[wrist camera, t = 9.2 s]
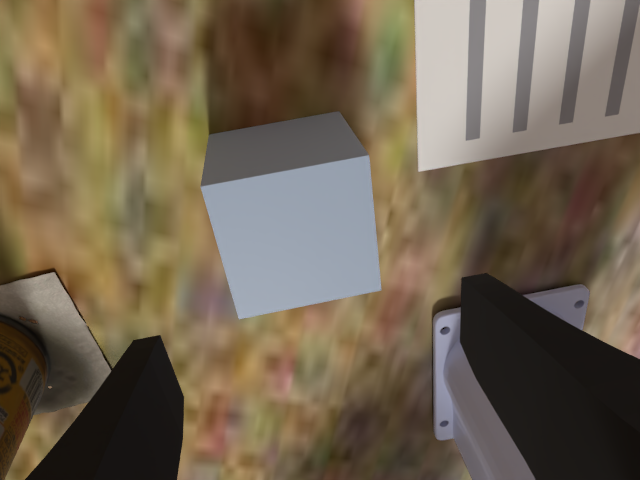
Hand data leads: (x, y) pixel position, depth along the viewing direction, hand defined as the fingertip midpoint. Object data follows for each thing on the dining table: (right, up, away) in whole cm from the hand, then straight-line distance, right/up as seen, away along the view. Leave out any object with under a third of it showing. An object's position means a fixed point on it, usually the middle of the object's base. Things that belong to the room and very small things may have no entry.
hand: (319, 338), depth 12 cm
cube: (-1, +5, +8) cm, 10 cm away
